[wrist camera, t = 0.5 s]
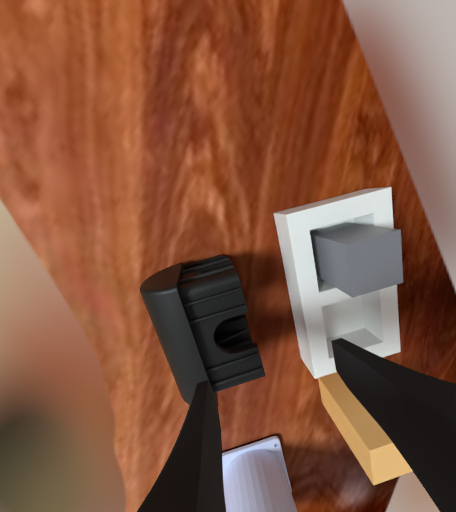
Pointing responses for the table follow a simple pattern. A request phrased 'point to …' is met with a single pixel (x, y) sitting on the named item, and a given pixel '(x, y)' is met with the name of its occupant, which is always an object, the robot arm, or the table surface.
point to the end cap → (203, 325)
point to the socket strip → (326, 298)
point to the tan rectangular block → (361, 432)
